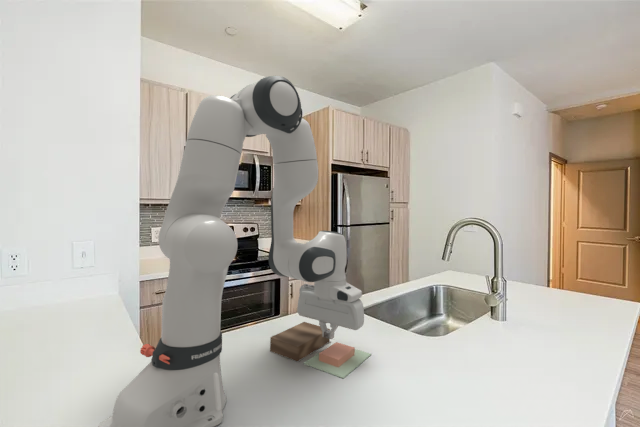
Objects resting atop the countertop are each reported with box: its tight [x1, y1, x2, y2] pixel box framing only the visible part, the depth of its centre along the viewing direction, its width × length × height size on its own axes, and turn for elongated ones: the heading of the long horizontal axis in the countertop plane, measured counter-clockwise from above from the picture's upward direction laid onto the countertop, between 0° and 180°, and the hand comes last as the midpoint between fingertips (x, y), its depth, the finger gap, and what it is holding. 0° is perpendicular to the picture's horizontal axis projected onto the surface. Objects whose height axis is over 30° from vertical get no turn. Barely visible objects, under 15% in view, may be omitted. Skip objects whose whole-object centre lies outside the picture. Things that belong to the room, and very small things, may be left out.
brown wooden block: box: [269, 321, 331, 363], centre depth 93 cm, size 16×10×4 cm, turn 146°
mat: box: [303, 343, 372, 380], centre depth 86 cm, size 16×12×1 cm
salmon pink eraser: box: [318, 341, 356, 367], centre depth 86 cm, size 9×6×2 cm, turn 146°
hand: (328, 337), depth 88 cm, fingers closed
